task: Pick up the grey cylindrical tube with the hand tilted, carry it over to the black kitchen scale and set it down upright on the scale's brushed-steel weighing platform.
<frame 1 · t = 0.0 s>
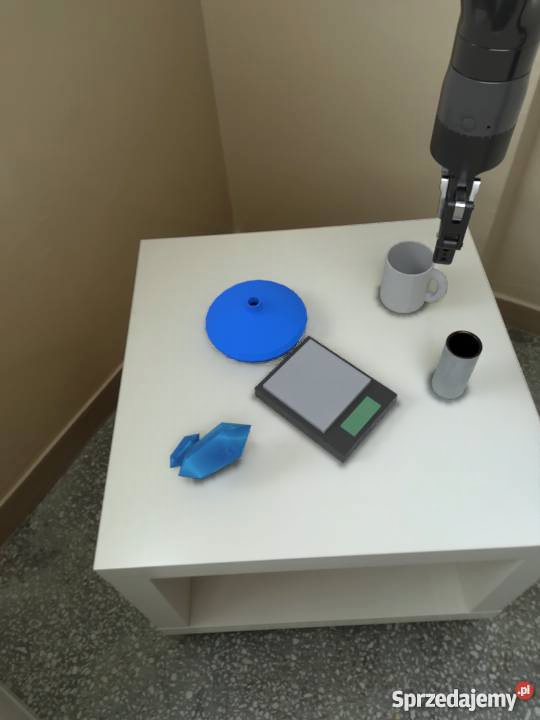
hand: (443, 236, 64), 20 cm above the table, tool pointing down, fingers open, 8 cm apart
crystal: (216, 463, 72), on the table
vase: (257, 330, 84), on the table
scale: (324, 399, 76), on the table
cup: (410, 300, 85), on the table
grey cylindrical tube: (447, 386, 76), on the table
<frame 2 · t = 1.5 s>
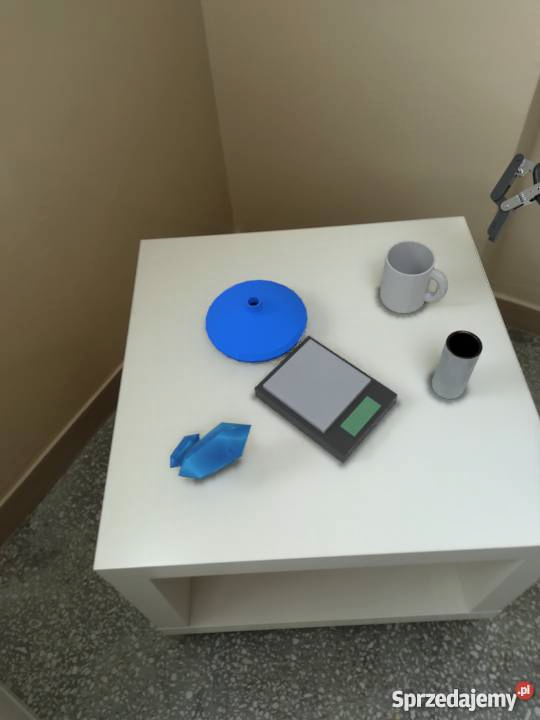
hand: (523, 256, 66), 17 cm above the table, tool tilted 45°, fingers open, 8 cm apart
nothing on the table moved.
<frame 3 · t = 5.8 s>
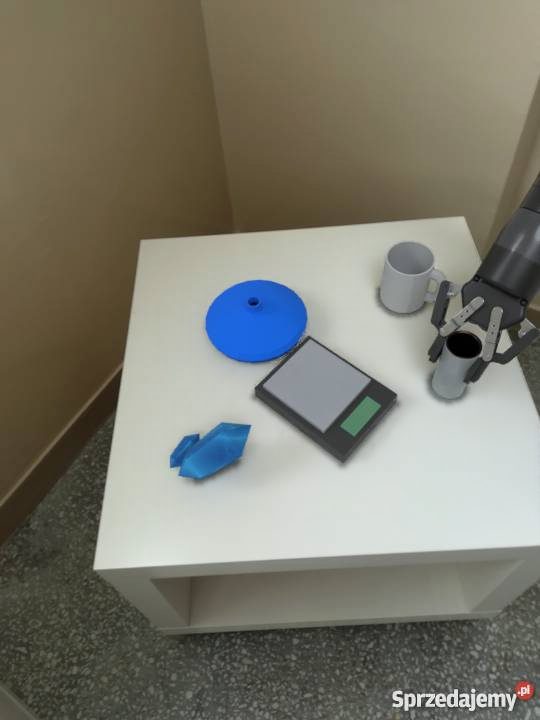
hand: (449, 371, 70), 6 cm above the table, tool tilted 45°, fingers closed on grey cylindrical tube, 4 cm apart
grey cylindrical tube: (447, 386, 76), on the table, touching gripper
everything else where it was.
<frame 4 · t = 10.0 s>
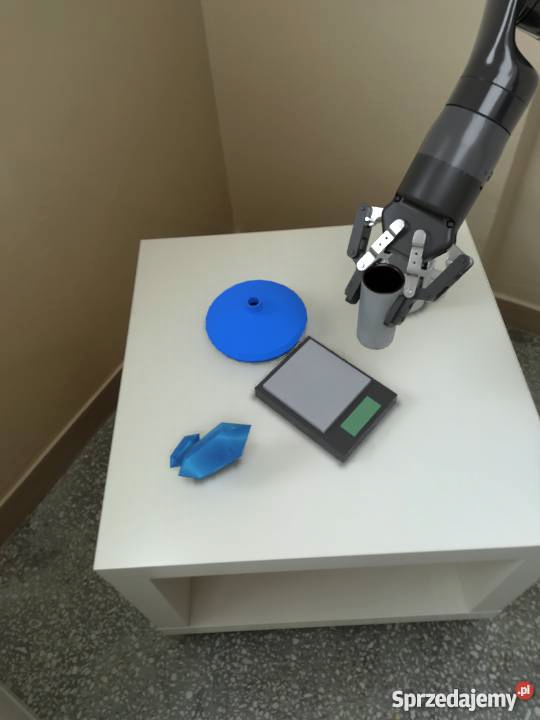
hand: (369, 313, 59), 20 cm above the table, tool tilted 45°, fingers closed on grey cylindrical tube, 4 cm apart
grey cylindrical tube: (374, 336, 65), point 14 cm above the table, touching gripper
everything else where it was.
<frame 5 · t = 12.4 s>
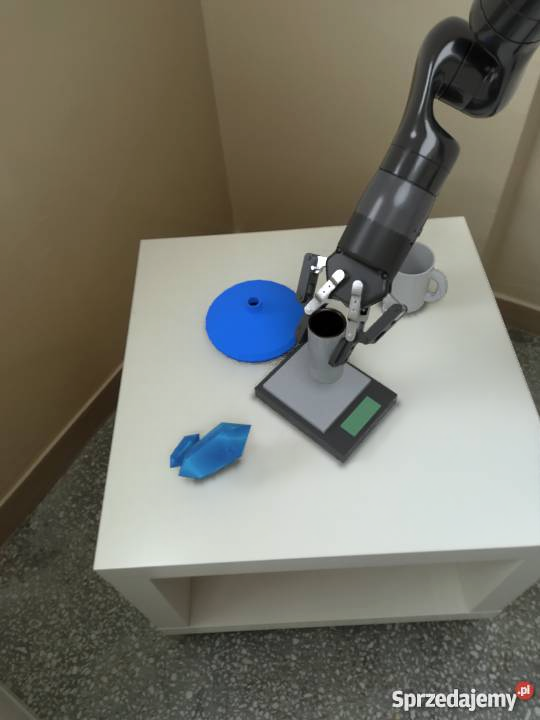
hand: (316, 353, 64), 14 cm above the table, tool tilted 45°, fingers closed on grey cylindrical tube, 4 cm apart
grey cylindrical tube: (325, 370, 70), point 7 cm above the table, touching gripper
everything else where it was.
when the fingers open (9 cm above the table, at t = 14.1 s): grey cylindrical tube stays where it is, resting on scale.
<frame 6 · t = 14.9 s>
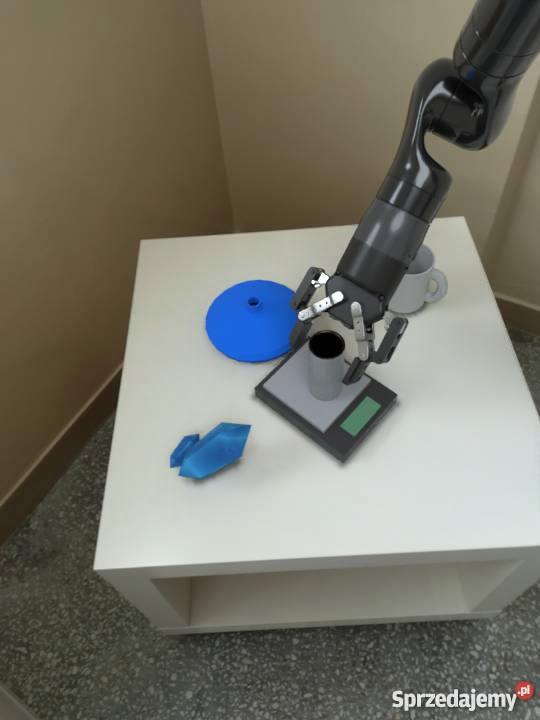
hand: (319, 365, 67), 11 cm above the table, tool tilted 45°, fingers open, 8 cm apart
grey cylindrical tube: (325, 387, 74), point 3 cm above the table, touching scale
everything else where it was.
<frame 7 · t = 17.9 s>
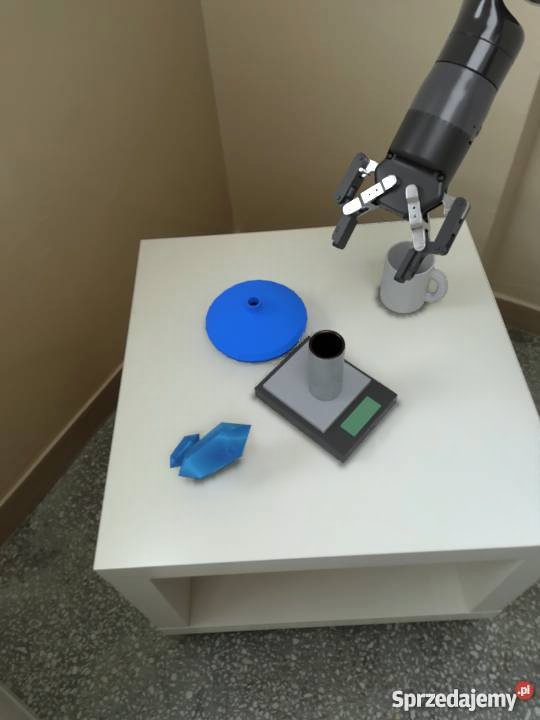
hand: (367, 264, 60), 22 cm above the table, tool tilted 45°, fingers open, 8 cm apart
nothing on the table moved.
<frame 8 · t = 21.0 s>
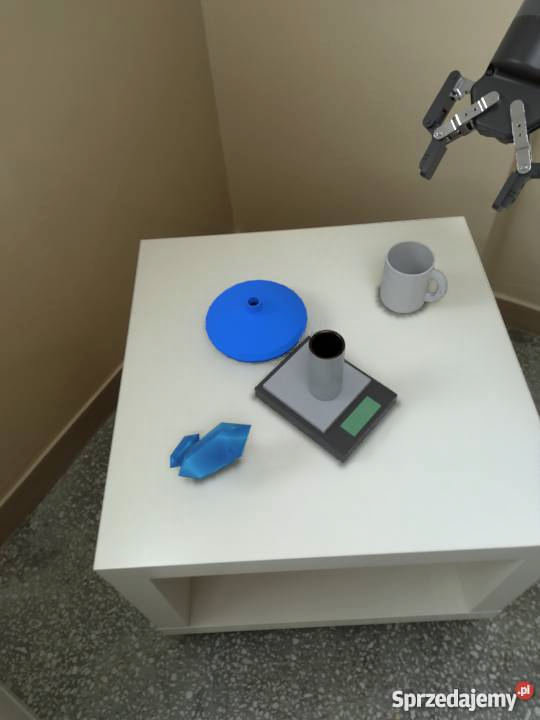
hand: (459, 193, 56), 29 cm above the table, tool tilted 45°, fingers open, 8 cm apart
nothing on the table moved.
at the end: grey cylindrical tube inside the target area on the scale (1.0 cm from its centre), point 3.0 cm above the scale's base; grey cylindrical tube tilted 0°; the gripper is holding nothing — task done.
